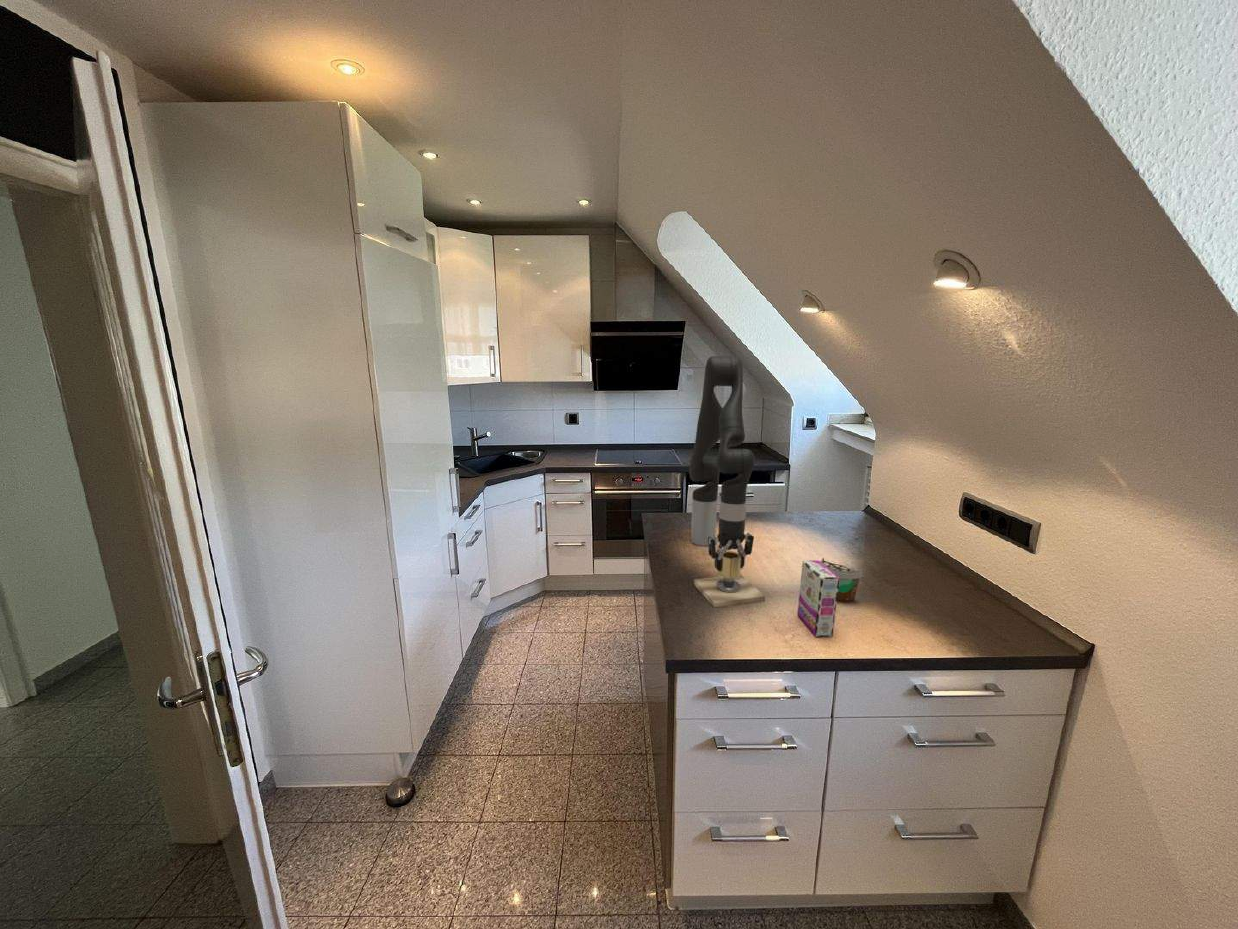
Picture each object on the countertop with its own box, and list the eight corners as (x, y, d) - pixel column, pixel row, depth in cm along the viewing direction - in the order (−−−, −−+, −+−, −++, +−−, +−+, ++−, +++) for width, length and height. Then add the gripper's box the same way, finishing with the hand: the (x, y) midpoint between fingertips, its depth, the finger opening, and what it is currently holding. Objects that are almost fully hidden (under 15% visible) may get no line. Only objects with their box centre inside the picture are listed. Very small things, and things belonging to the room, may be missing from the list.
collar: (715, 570, 147) (716, 552, 146) (733, 568, 149) (734, 550, 147) (724, 579, 142) (725, 560, 140) (743, 577, 143) (744, 558, 142)
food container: (808, 593, 146) (811, 562, 144) (819, 587, 150) (822, 556, 148) (849, 609, 137) (853, 576, 135) (859, 602, 141) (863, 570, 139)
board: (693, 583, 152) (694, 579, 151) (740, 578, 156) (740, 574, 155) (714, 607, 138) (714, 602, 137) (764, 601, 141) (765, 596, 141)
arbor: (712, 583, 149) (713, 559, 147) (733, 581, 150) (734, 556, 149) (722, 594, 142) (724, 568, 140) (744, 591, 144) (746, 566, 142)
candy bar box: (834, 637, 123) (840, 578, 120) (815, 638, 123) (821, 578, 119) (814, 614, 134) (819, 559, 131) (796, 614, 134) (801, 559, 130)
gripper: (748, 510, 146) (745, 561, 150) (704, 513, 143) (701, 566, 147) (761, 518, 139) (757, 571, 143) (715, 522, 136) (712, 577, 140)
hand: (729, 568), depth 145 cm, fingers open, 6 cm apart
